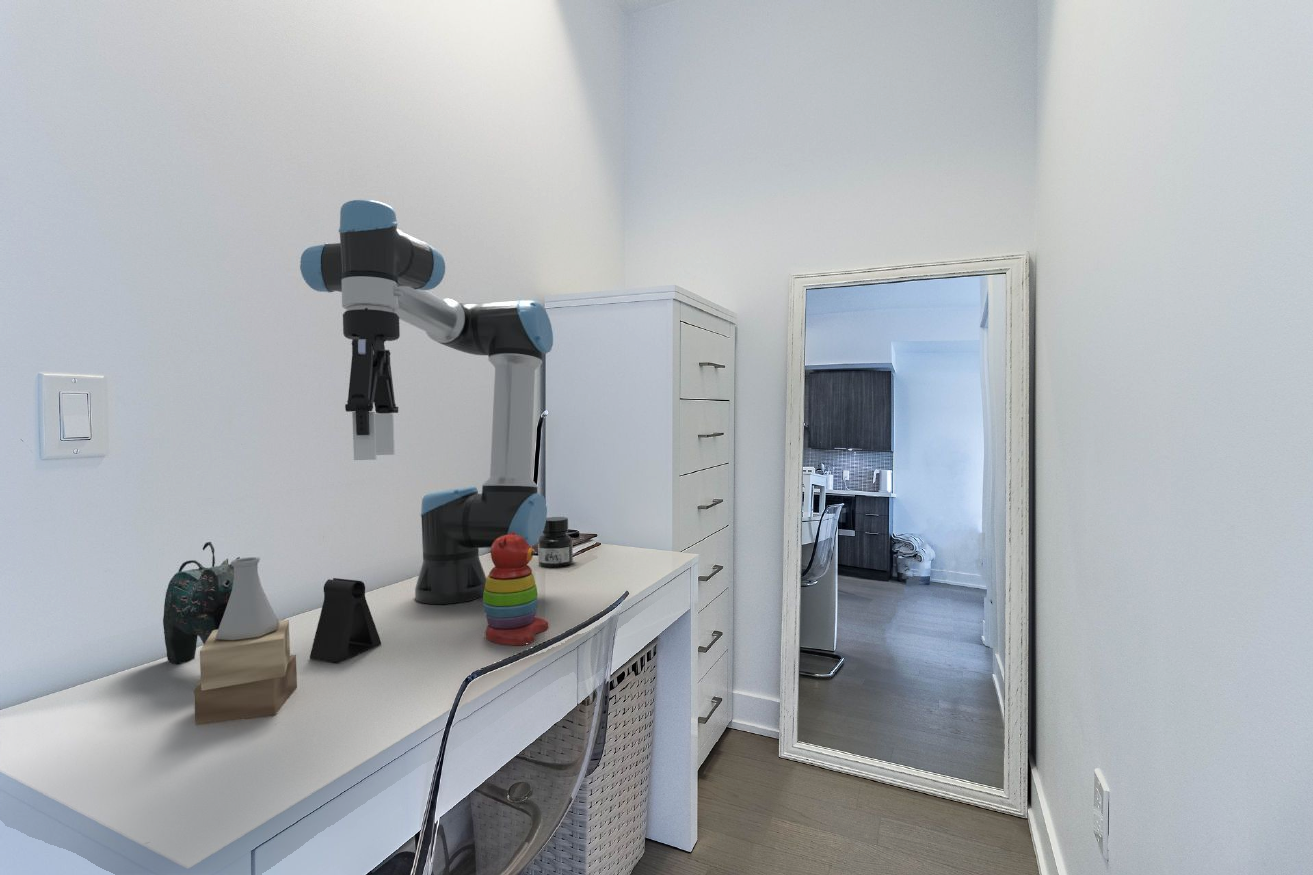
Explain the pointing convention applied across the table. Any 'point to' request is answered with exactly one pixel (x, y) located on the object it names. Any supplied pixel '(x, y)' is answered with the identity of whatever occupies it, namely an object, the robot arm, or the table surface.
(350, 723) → the table surface
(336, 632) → the phone stand
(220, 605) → the ceramic cat
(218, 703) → the block lower
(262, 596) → the flask
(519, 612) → the stacking bear
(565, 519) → the ink bottle
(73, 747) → the table surface
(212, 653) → the block upper
